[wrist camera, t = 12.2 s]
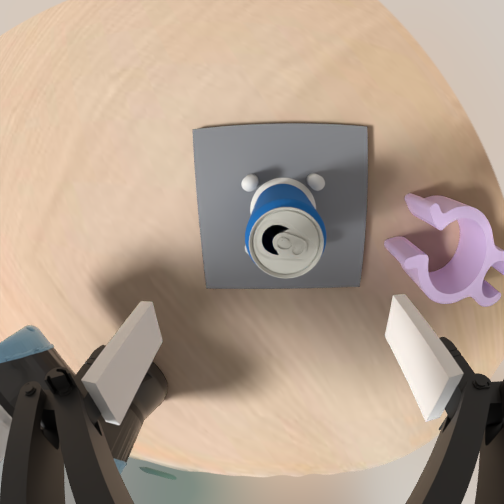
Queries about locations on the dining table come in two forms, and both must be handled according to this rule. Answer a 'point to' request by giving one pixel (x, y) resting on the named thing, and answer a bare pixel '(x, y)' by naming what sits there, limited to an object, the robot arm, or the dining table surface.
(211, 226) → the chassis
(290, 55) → the dining table surface
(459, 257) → the clip
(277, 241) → the beverage can
